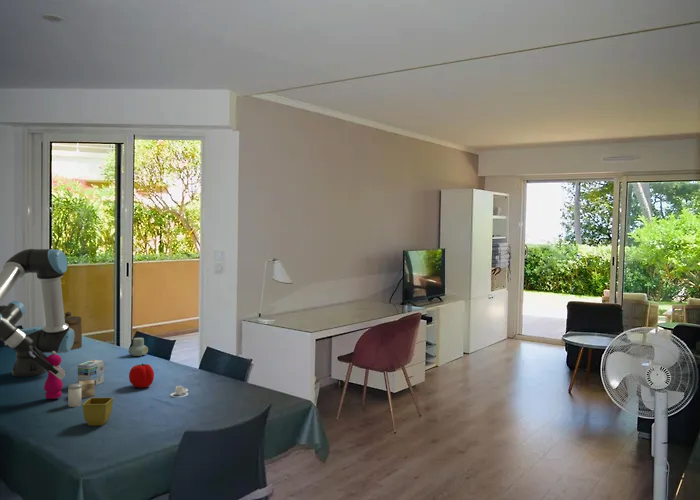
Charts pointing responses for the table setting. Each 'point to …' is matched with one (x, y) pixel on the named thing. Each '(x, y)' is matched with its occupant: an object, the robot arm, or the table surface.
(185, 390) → the teacup and saucer
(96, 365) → the light bulb box
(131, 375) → the tomato
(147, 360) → the table surface
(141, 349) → the air freshener
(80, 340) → the wooden container
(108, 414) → the flower pot
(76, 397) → the salt shaker
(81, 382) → the light oak block
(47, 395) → the pepper mill
